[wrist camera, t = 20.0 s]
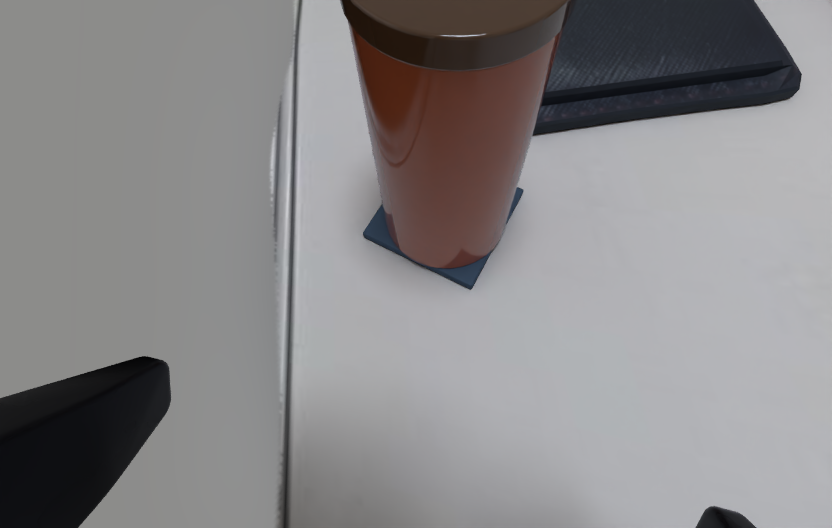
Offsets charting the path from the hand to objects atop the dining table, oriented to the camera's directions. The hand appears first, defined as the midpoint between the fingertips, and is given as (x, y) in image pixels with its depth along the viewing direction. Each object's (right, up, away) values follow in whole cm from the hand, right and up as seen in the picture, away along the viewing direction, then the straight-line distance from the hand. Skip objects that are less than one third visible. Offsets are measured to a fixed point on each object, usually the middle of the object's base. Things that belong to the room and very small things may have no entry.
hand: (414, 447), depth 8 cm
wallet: (+11, +18, +21) cm, 30 cm away
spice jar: (+2, +6, +16) cm, 17 cm away
